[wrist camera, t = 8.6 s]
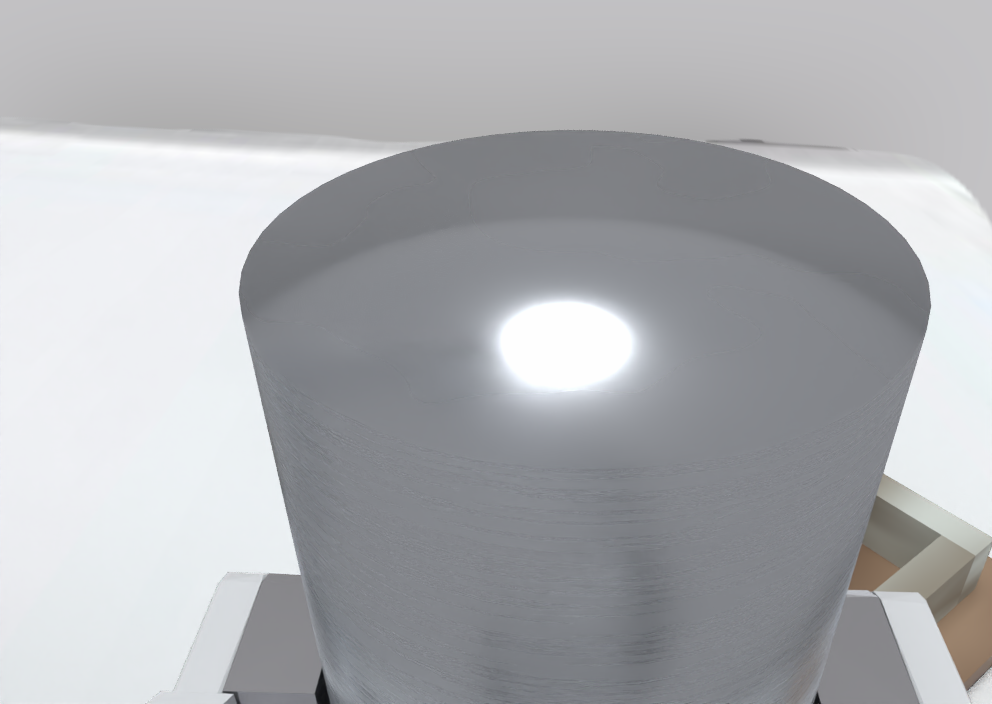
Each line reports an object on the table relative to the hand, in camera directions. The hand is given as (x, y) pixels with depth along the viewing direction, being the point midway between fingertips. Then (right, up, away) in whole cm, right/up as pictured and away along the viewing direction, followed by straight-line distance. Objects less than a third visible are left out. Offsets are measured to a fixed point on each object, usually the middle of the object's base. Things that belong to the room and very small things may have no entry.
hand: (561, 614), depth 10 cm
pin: (0, -6, +3) cm, 7 cm away
